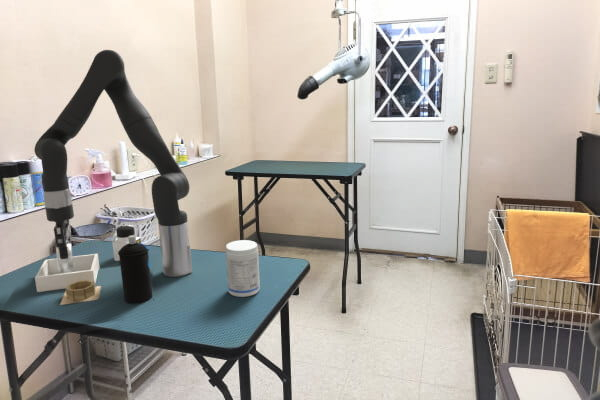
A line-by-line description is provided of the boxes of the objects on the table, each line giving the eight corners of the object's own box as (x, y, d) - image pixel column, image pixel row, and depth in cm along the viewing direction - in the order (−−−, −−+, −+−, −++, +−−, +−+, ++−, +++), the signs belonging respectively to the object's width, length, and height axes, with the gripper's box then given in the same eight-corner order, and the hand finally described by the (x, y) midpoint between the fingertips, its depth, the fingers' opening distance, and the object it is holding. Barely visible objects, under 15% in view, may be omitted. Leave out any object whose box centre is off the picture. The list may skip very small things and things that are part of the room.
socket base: (101, 290, 147) (100, 276, 146) (99, 304, 137) (97, 289, 136) (66, 295, 144) (64, 281, 143) (60, 309, 135) (58, 294, 134)
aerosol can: (137, 311, 132) (129, 242, 128) (117, 305, 137) (109, 238, 132) (160, 300, 139) (153, 234, 134) (141, 294, 143) (134, 230, 139)
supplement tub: (230, 284, 149) (227, 239, 145) (261, 284, 148) (259, 239, 145) (225, 298, 139) (222, 250, 136) (258, 298, 139) (256, 250, 135)
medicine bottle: (132, 262, 170) (128, 229, 167) (114, 261, 171) (110, 229, 168) (142, 255, 176) (139, 223, 174) (125, 254, 178) (121, 223, 175)
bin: (99, 270, 163) (97, 253, 161) (95, 288, 148) (93, 270, 147) (47, 276, 158) (45, 259, 157) (37, 296, 143) (34, 277, 142)
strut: (61, 276, 154) (58, 236, 151) (76, 276, 155) (73, 236, 151) (56, 282, 150) (52, 241, 146) (71, 282, 151) (68, 241, 147)
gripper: (48, 200, 152) (56, 248, 156) (40, 210, 139) (49, 263, 142) (74, 197, 154) (81, 245, 158) (69, 207, 141) (76, 259, 145)
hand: (66, 254), depth 150 cm, fingers open, 8 cm apart
